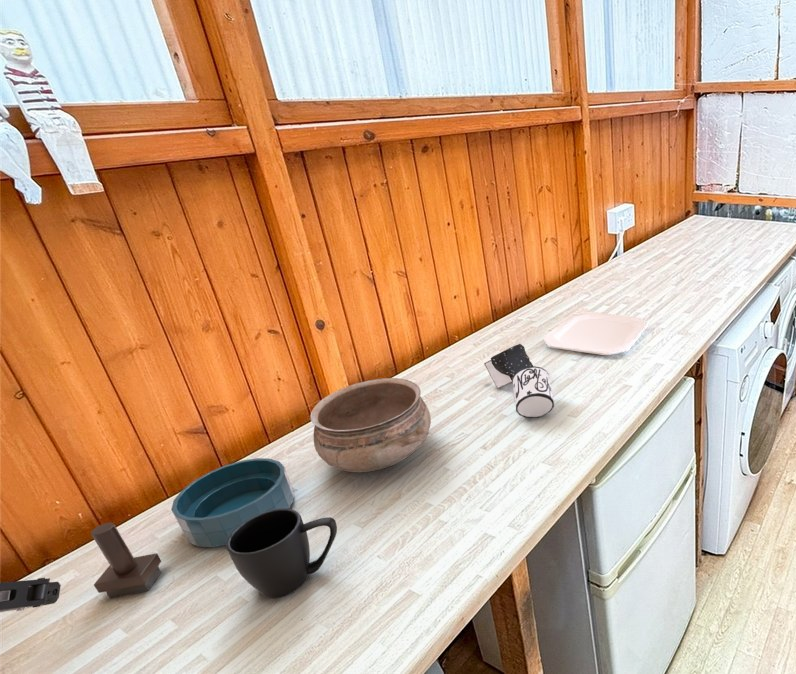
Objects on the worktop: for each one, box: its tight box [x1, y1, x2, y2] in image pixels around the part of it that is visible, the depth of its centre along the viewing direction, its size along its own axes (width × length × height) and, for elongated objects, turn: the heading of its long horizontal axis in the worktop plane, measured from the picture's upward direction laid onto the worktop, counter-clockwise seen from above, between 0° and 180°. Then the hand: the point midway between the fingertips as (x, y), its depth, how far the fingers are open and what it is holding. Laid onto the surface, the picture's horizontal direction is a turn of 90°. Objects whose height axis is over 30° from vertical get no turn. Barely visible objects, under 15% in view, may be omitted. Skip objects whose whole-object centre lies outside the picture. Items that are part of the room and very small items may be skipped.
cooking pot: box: [310, 377, 432, 473], centre depth 94 cm, size 25×19×12 cm
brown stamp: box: [90, 522, 162, 599], centre depth 70 cm, size 5×4×10 cm
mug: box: [225, 508, 338, 599], centre depth 71 cm, size 8×12×10 cm
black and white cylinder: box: [483, 343, 555, 419], centre depth 114 cm, size 25×10×10 cm, turn 34°
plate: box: [542, 310, 649, 356], centre depth 145 cm, size 25×25×2 cm
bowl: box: [171, 457, 295, 548], centre depth 82 cm, size 14×14×6 cm
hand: (5, 602), depth 56 cm, fingers open, 8 cm apart
